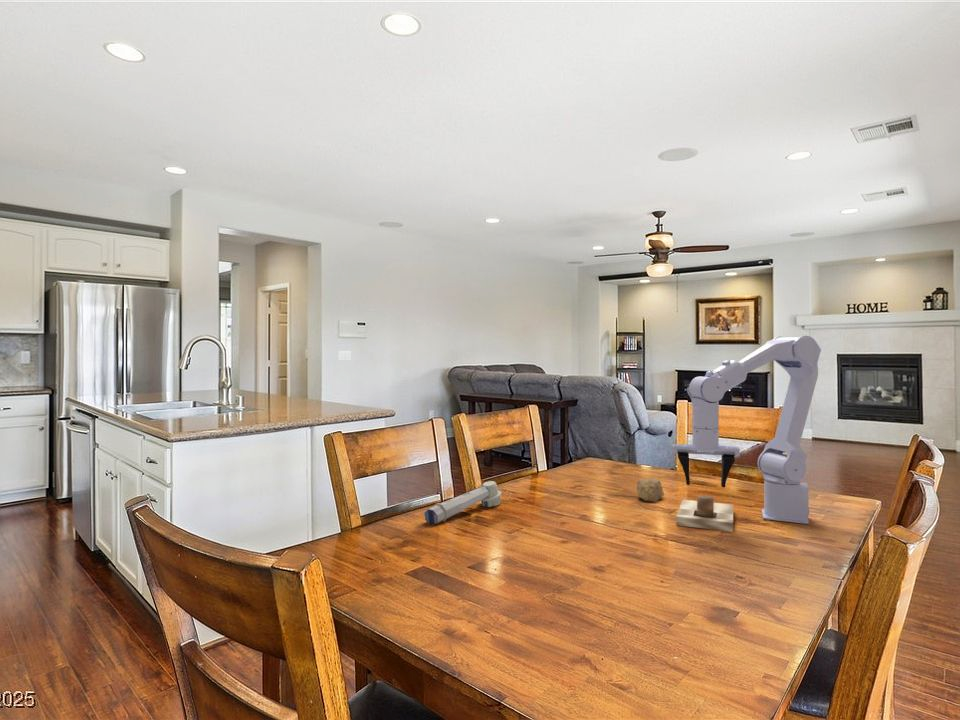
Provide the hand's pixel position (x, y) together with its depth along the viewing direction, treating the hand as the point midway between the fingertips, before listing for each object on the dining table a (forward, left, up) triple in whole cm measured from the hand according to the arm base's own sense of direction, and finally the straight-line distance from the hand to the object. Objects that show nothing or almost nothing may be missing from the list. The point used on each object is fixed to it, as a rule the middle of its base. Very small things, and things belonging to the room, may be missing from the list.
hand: (705, 485), depth 131 cm
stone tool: (+15, -18, -9) cm, 25 cm away
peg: (0, 0, -9) cm, 9 cm away
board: (0, -3, -9) cm, 10 cm away
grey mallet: (+55, +16, -9) cm, 58 cm away
